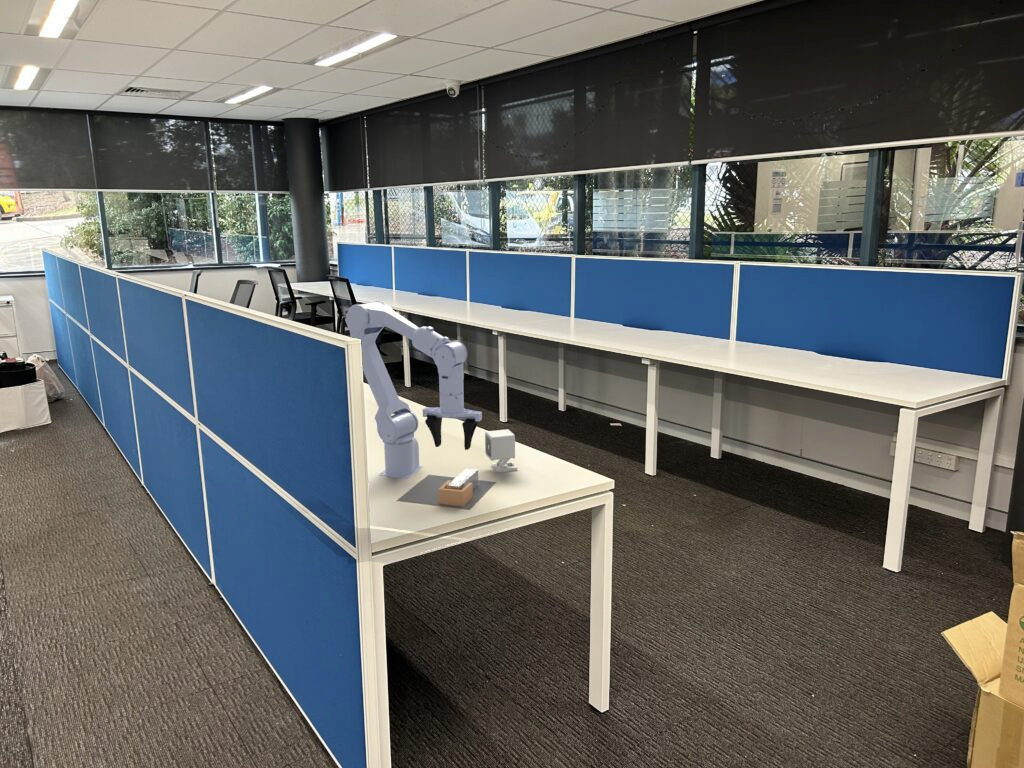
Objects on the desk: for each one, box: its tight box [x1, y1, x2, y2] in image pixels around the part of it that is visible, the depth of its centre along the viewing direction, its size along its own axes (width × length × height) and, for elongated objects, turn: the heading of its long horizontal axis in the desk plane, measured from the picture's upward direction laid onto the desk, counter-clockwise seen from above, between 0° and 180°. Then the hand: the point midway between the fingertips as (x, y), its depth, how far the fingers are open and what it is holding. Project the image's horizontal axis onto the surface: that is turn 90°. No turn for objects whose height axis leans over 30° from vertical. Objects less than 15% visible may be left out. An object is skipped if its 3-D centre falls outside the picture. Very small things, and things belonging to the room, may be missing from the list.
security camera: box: [484, 428, 518, 473], centre depth 189 cm, size 6×7×10 cm
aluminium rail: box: [447, 467, 479, 490], centre depth 173 cm, size 12×3×4 cm, turn 162°
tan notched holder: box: [438, 480, 473, 507], centre depth 169 cm, size 6×6×4 cm
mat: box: [396, 474, 497, 511], centre depth 175 cm, size 18×18×1 cm
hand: (452, 447), depth 179 cm, fingers open, 7 cm apart
